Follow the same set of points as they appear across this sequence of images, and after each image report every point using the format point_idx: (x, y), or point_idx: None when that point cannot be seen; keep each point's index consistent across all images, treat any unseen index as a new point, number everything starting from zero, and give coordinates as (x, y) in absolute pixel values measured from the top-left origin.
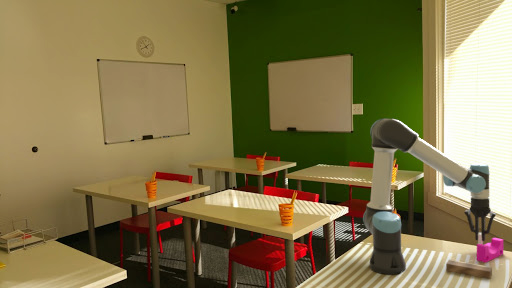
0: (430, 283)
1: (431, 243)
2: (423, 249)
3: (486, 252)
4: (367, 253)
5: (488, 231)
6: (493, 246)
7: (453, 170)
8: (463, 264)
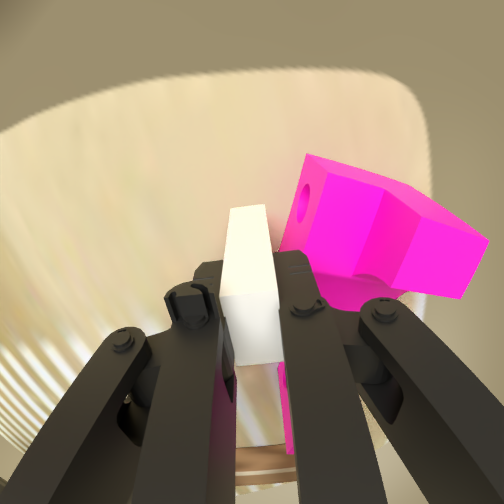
0: None
1: None
2: (19, 348)
3: None
4: (6, 424)
5: (390, 387)
6: (380, 279)
7: None
8: (266, 477)
